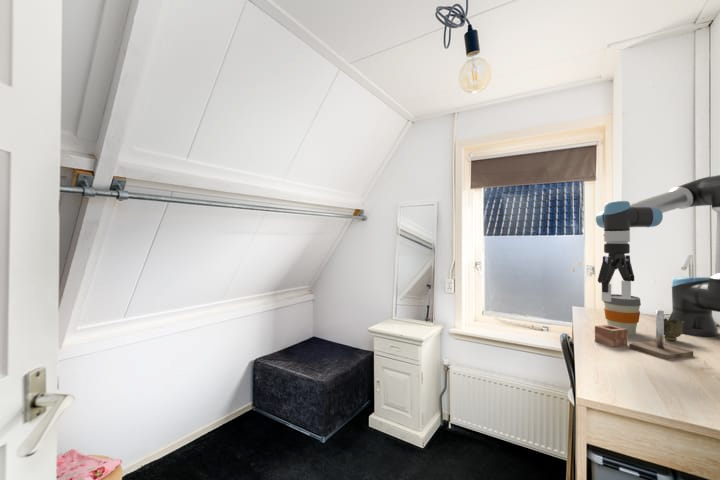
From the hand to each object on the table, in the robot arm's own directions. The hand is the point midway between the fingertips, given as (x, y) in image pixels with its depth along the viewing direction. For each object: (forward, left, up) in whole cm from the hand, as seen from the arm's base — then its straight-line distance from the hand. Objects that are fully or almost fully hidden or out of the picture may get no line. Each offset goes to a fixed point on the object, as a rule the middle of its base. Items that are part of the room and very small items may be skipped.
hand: (616, 299), depth 121 cm
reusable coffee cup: (-20, -13, -18) cm, 29 cm away
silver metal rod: (-8, +9, -16) cm, 20 cm away
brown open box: (-1, -3, -17) cm, 18 cm away
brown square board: (-8, +9, -17) cm, 21 cm away
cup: (-26, +1, -18) cm, 31 cm away
